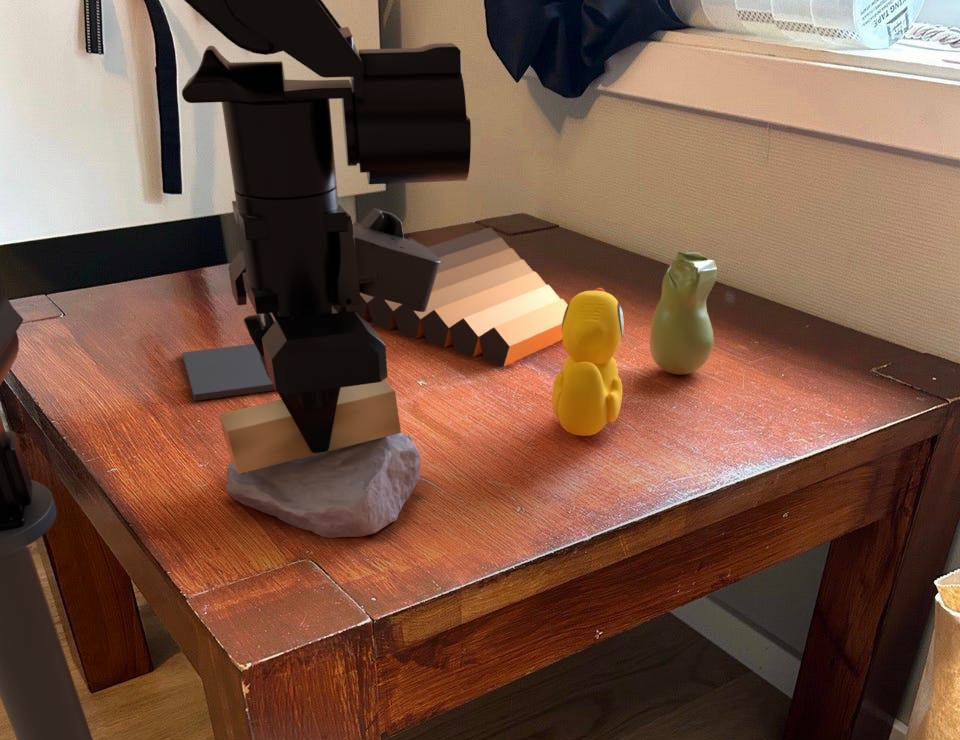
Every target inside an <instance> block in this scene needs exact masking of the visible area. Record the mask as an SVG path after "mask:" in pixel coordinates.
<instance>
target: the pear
mask: <svg viewBox="0 0 960 740" xmlns="http://www.w3.org/2000/svg"><path fill="white" fill-rule="evenodd" d="M717 272H718V268H717V264H716V262H715V260H713V259H709V258H708V257H706V256H704V255H703V254H701V253H699V252H682V251H677V254H676V257H675V259H673V260H672V264H671V265H669V267H667V269H666V271H665V274H664V275H663V279H662V283H661V296H660V299H659V301H658V303H657V304H656V307H655V309H654V312H653V316H652V320H651V325H650V331H649V350H650V355H651V358H652V360H653V361H654V363H655V365H656V366H657V367H659V368H660V369H661V370H663V371H664V372H666V373H669V374H673V375H680V376H681V375H688V374H691V373H695V372H697V371H698V370H700V369H701V368H703V366H704V365H705V364H707V362H708V360H709V359H710V357H711V355H712V352H713V349H714V343H715V338H714V332H713V331H714V330H713V326H712V323H711V320H710V316H709V313H708V311H707V310H708V309H707V298H708V297H709V294H710V292H711V291H712V289H713V287H714V285H715V283H716V280H717Z"/></svg>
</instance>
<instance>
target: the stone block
mask: <svg viewBox="0 0 960 740" xmlns="http://www.w3.org/2000/svg"><path fill="white" fill-rule="evenodd" d="M421 459H422V458H421V453H420V451H419V450H418V448H417V446H416V444H415V443H414V441H413V438H412V437H411V435H407V434H406V433H402V432H401V433H399V434H395V435H391V436H387V437H383V438H379V439H375V440H371V441H367V442H363V443H359V444H355V445H351V446H348V447H344V448H340V449H336V450H332V451H328V452H324V453H320V454H316V455H312V456H308V457H304V458H300V459H296V460H292V461H288V462H284V463H280V464H277V465H273V466H269V467H265V468H261V469H257V470H253V471H249V472H245V473H241V474H238V473H237V471H236V469H235V467H234V464H233V462H232V460H230V462H229V463H228V465H227V467H226V478H227V481H226V487H225V490H226V491H225V492H226V494H228V495H229V496H231V497H232V499H233V500H235V501H237V502H239V503H241V504H242V505H243V506H246V507H249V508H251V509H255V510H257V511H260V512H261V513H264V514H266V515H270V516H274V517H275V518H277V519H278V520H280V521H282V522H284V523H286V524H288V525H290V526H293V527H296V528H298V529H301V530H305V531H310V532H312V533H313V534H315V535H318V536H320V537H322V538H327V539H328V538H329V539H336V538H350V537H351V538H362V537H365V536H370V535H373V534H376V533H378V532H379V531H381V530H382V529H384V528H385V527H387V526H388V525H390V524H392V523H393V522H396V521H397V519H398V517H399V514H400V513H401V511H402V509H403V506H404V505H405V503H406V502H407V501H408V500H409V499H410V496H411V494H412V492H413V490H414V489H415V488H416V487H417V485H418V483H419V482H420V474H421V473H420V471H421Z"/></svg>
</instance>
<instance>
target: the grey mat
mask: <svg viewBox="0 0 960 740" xmlns="http://www.w3.org/2000/svg"><path fill="white" fill-rule="evenodd" d="M260 356H261V355H260V353H259V351H258V349H257V347H256V346H255V344H254V343H247V344H240V345H232V346H231V345H230V346H224V347H216V348H208V349H200V350H192V351H191V350H190V351H183V352H182V359H183V362H184V367H185V370H186V373H187V378H188V381H189V385H190V389H191V392H192V397H193V399H194V401H195V402H199V401H204V400H212V399H221V398H228V397H234V396H242V395H249V394H257V393H263V392H272V391H275V388H274V386H273V384H272V382H271V380H270V378H269V377H268V375H267V373H266V371H265V368H264V366H263V364H262V362H261V359H260Z"/></svg>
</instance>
